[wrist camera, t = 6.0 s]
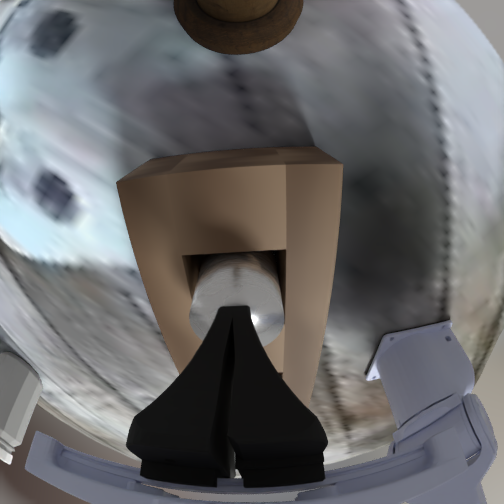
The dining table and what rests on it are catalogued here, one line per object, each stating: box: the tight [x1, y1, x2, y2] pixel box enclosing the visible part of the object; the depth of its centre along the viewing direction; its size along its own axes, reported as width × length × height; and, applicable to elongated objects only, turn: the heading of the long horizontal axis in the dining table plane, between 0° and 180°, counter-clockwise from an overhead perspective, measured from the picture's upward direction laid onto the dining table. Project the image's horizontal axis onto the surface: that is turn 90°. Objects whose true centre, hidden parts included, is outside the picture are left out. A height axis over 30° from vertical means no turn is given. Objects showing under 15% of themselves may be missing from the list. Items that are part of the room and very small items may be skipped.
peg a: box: [189, 250, 284, 347], centre depth 14 cm, size 4×4×5 cm
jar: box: [0, 352, 43, 464], centre depth 22 cm, size 10×10×18 cm
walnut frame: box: [116, 147, 343, 408], centre depth 19 cm, size 10×23×5 cm, turn 3°
